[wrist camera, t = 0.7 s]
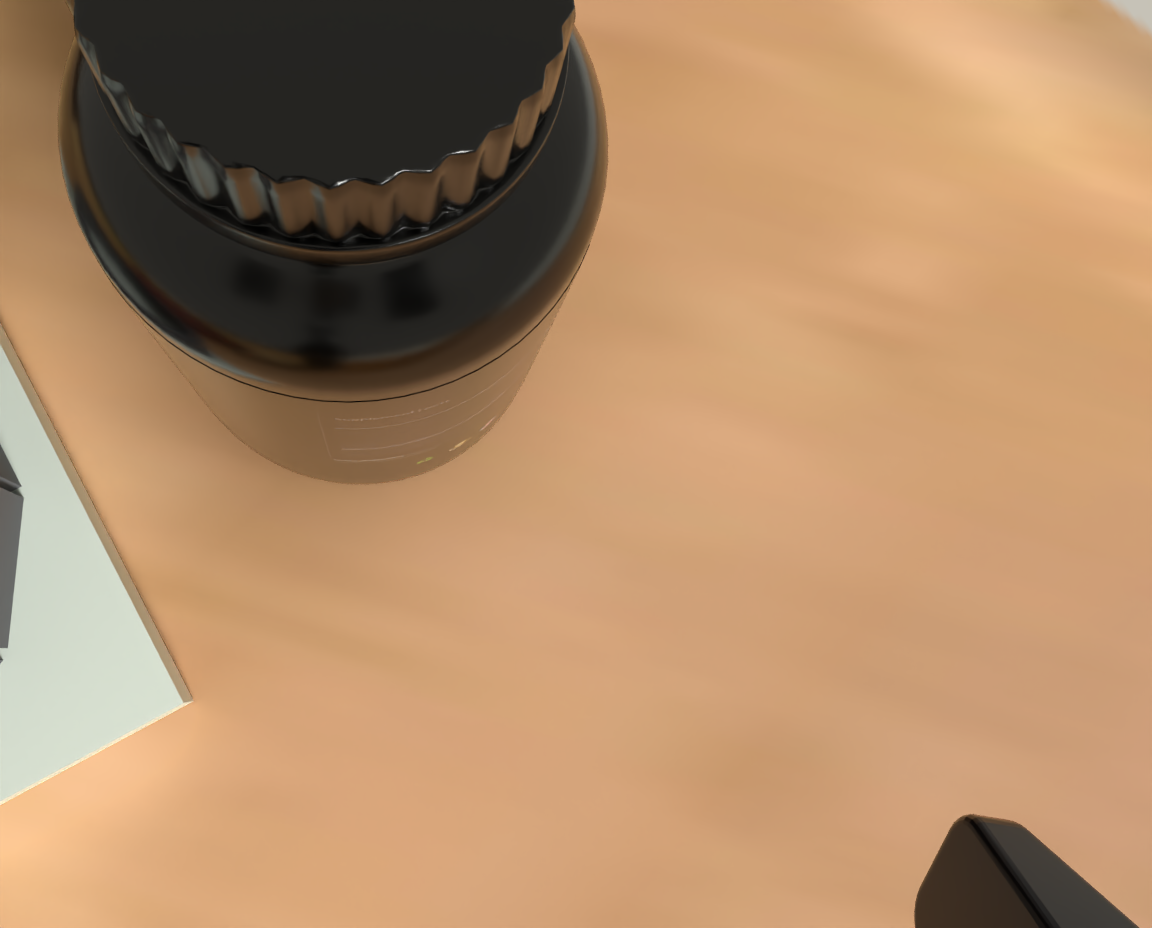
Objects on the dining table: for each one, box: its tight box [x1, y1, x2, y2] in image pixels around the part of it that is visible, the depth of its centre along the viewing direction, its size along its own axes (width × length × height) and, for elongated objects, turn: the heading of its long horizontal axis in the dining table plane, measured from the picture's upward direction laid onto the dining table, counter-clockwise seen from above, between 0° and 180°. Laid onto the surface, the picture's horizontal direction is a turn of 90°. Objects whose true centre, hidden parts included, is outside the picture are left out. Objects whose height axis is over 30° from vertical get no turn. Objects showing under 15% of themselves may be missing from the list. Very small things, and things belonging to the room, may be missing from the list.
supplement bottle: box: [58, 0, 608, 484], centre depth 16 cm, size 7×7×12 cm
